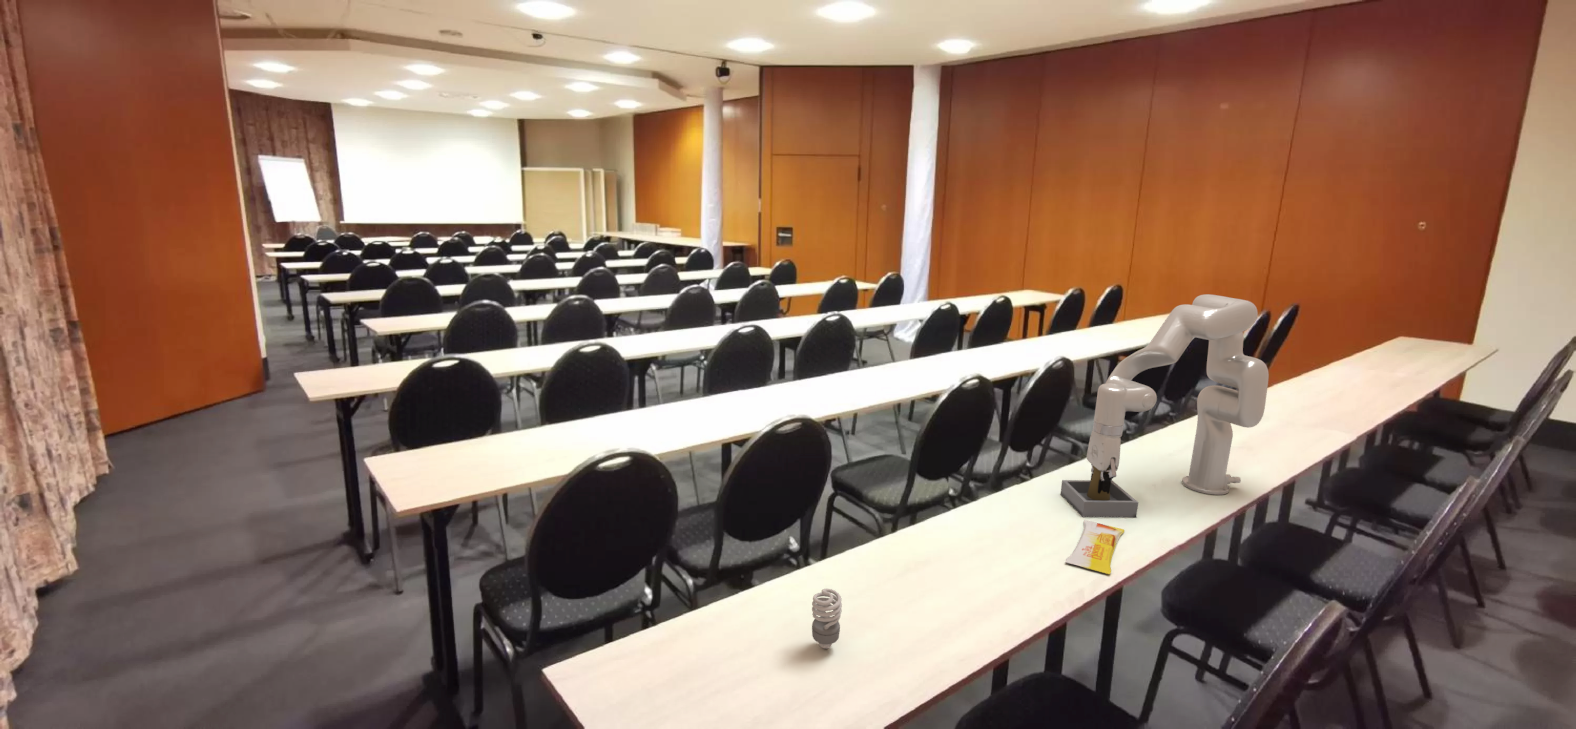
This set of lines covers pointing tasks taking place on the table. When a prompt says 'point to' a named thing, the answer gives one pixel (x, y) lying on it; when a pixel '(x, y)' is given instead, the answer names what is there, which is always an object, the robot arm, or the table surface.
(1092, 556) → the food package
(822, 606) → the light bulb
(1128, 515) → the tote
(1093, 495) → the cork
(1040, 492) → the table surface
